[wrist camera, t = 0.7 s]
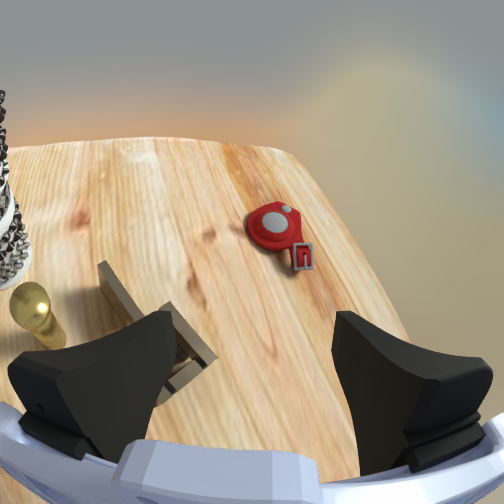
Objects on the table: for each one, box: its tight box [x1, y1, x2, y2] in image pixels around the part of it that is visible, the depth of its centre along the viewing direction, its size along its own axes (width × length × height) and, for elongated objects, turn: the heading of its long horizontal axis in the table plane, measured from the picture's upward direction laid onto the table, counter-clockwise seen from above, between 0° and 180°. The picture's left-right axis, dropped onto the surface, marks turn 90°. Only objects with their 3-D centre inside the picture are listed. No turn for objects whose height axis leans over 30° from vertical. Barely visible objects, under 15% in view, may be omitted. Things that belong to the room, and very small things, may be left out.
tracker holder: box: [247, 201, 314, 271], centre depth 41 cm, size 12×4×10 cm
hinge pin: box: [9, 282, 66, 350], centre depth 17 cm, size 4×4×9 cm
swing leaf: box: [97, 260, 218, 406], centre depth 23 cm, size 13×7×5 cm, turn 47°
